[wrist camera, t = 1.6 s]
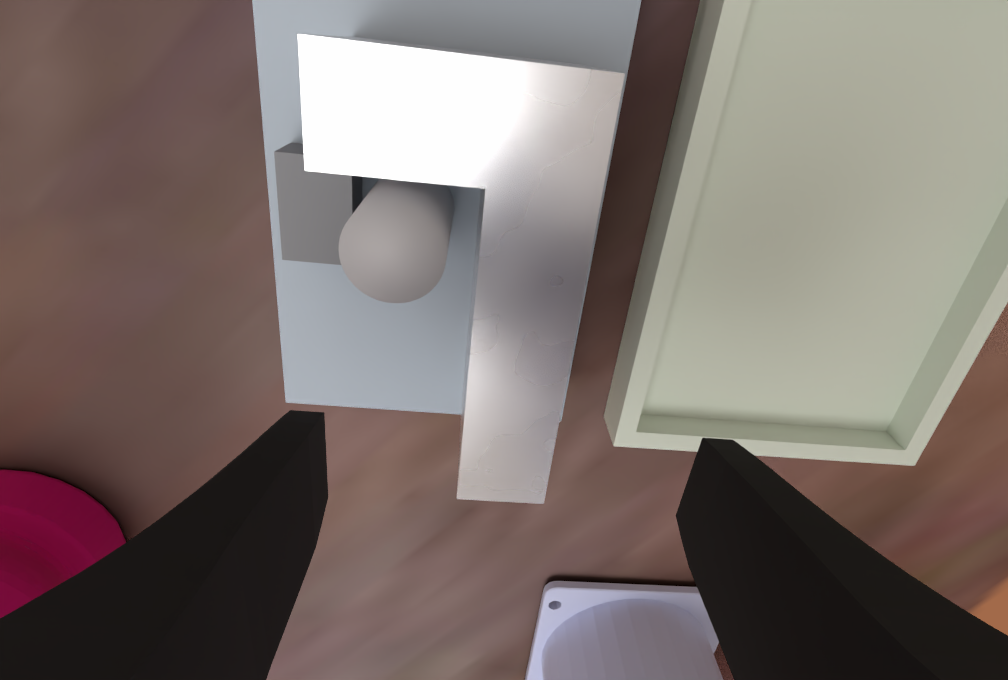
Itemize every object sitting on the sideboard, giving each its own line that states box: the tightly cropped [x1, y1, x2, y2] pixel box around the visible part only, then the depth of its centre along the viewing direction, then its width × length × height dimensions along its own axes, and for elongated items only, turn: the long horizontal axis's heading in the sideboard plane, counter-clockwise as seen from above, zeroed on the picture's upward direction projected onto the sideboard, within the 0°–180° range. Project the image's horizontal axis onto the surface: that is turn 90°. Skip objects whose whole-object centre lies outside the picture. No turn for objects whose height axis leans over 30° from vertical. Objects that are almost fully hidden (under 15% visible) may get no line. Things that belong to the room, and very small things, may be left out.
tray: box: [604, 0, 1008, 466], centre depth 16 cm, size 14×10×2 cm
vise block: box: [252, 0, 641, 421], centre depth 13 cm, size 12×8×6 cm, turn 174°
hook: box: [298, 34, 625, 504], centre depth 12 cm, size 9×5×4 cm, turn 174°
